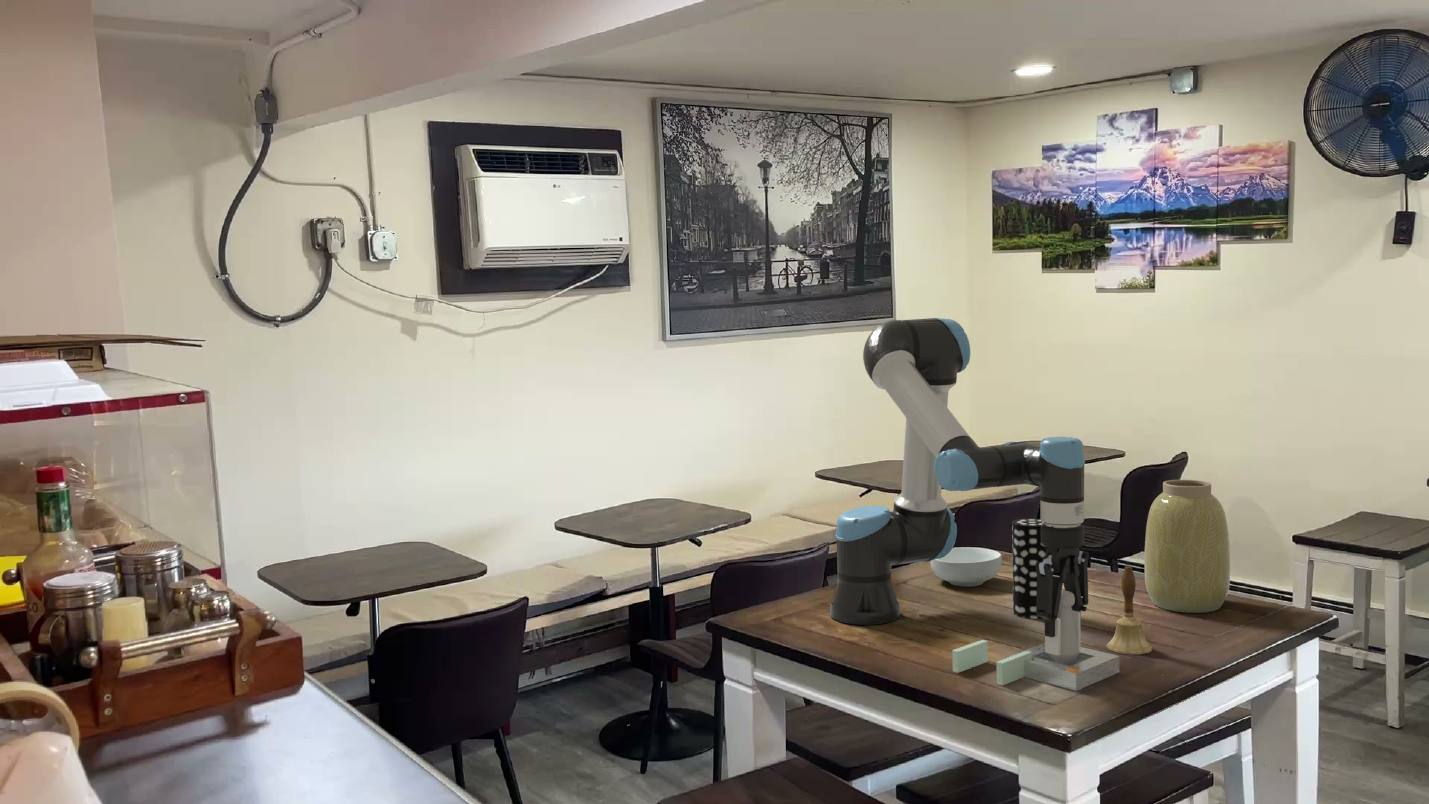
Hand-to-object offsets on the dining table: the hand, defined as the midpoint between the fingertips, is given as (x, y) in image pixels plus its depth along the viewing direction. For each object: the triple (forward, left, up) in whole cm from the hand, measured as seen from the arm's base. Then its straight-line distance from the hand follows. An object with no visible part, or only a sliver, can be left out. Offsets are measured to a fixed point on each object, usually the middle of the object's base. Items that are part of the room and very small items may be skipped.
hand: (1062, 649), depth 203 cm
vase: (-6, +57, -5) cm, 57 cm away
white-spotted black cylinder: (-26, +29, -4) cm, 39 cm away
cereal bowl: (-53, +41, -5) cm, 67 cm away
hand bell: (+1, +21, -5) cm, 22 cm away
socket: (0, 0, -4) cm, 4 cm away
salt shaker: (0, 0, -3) cm, 3 cm away
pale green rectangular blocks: (-9, -9, -4) cm, 13 cm away
